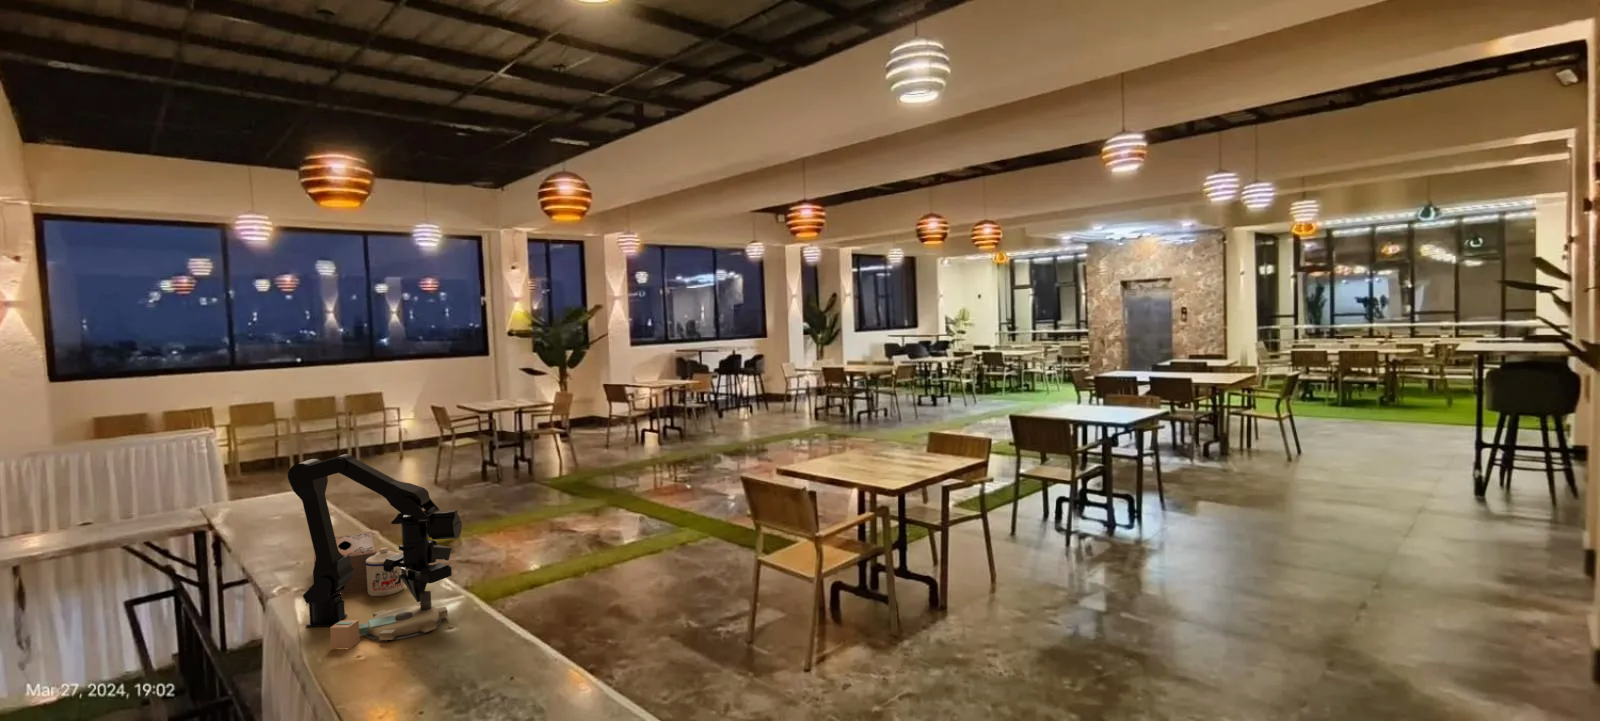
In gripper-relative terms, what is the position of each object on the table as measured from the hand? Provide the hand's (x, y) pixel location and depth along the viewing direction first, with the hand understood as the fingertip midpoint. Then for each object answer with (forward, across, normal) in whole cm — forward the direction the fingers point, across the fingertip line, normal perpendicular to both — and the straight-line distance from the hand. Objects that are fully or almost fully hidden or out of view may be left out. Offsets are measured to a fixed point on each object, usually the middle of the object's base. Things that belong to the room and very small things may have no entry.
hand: (419, 601), depth 190 cm
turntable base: (+3, -3, +6) cm, 8 cm away
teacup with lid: (+5, +24, -8) cm, 26 cm away
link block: (+3, -1, +19) cm, 19 cm away
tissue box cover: (+6, +44, -8) cm, 45 cm away
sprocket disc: (+3, -3, +6) cm, 8 cm away
